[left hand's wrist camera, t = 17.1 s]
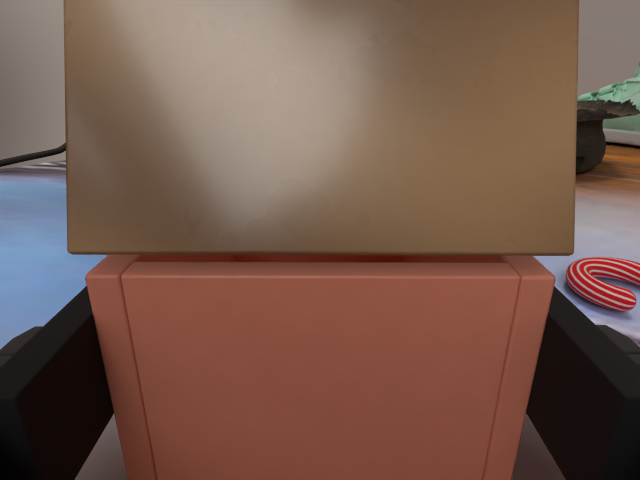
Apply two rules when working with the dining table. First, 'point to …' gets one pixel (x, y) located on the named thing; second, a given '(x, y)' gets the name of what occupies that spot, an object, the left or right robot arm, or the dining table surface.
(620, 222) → the dining table surface
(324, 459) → the chest
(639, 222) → the dining table surface
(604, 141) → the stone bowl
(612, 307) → the candy cane
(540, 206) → the lid
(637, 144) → the sneaker
